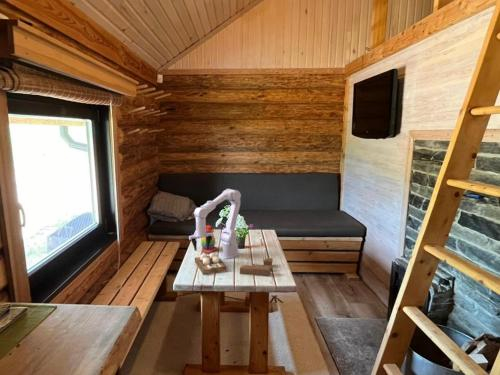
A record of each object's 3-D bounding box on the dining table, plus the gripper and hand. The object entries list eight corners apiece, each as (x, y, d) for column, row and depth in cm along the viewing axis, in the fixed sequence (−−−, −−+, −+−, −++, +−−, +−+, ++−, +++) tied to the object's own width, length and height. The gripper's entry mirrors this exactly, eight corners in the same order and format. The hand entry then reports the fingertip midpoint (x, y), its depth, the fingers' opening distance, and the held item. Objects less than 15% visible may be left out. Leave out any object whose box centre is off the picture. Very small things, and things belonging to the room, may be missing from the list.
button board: (216, 258, 207) (216, 253, 206) (226, 270, 189) (226, 265, 188) (194, 262, 201) (194, 256, 201) (203, 275, 183) (203, 269, 182)
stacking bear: (209, 254, 214) (208, 228, 211) (197, 251, 219) (197, 226, 216) (219, 249, 223) (219, 224, 220) (207, 247, 228) (207, 222, 225)
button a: (205, 259, 199) (205, 253, 199) (207, 261, 196) (207, 255, 195) (199, 260, 198) (199, 254, 197) (201, 262, 194) (201, 256, 194)
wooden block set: (271, 268, 180) (239, 265, 184) (271, 277, 181) (239, 275, 184) (274, 256, 197) (245, 254, 200) (274, 265, 198) (245, 263, 201)
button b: (208, 262, 194) (208, 257, 193) (210, 265, 190) (210, 259, 190) (202, 263, 192) (202, 258, 192) (203, 266, 189) (203, 260, 188)
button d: (218, 261, 196) (218, 255, 196) (220, 263, 193) (220, 257, 192) (211, 262, 195) (211, 256, 194) (213, 264, 191) (213, 258, 191)
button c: (215, 257, 202) (215, 252, 201) (217, 259, 198) (217, 254, 198) (209, 258, 200) (208, 253, 200) (210, 260, 197) (210, 255, 196)
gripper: (209, 224, 201) (210, 245, 203) (187, 227, 194) (187, 249, 196) (214, 227, 194) (214, 248, 197) (190, 230, 188) (191, 252, 190)
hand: (201, 249), depth 196 cm, fingers open, 7 cm apart
